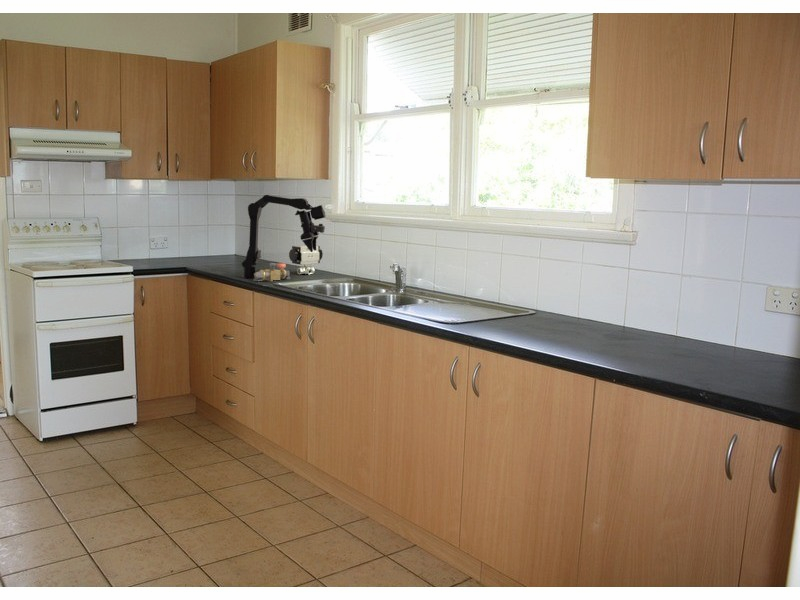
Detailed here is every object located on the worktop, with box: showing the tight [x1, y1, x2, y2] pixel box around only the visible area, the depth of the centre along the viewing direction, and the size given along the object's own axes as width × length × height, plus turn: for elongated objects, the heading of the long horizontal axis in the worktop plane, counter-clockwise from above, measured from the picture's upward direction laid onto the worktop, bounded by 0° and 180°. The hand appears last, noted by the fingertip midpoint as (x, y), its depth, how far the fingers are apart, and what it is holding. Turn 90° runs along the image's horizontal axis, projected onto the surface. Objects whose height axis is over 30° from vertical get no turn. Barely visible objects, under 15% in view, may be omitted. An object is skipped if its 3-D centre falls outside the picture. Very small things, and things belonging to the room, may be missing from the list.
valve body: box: [253, 268, 291, 282], centre depth 377 cm, size 20×6×6 cm, turn 136°
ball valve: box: [288, 244, 324, 276], centre depth 402 cm, size 18×8×18 cm, turn 131°
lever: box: [268, 262, 287, 270], centre depth 373 cm, size 12×4×4 cm, turn 46°
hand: (313, 251), depth 380 cm, fingers open, 9 cm apart
